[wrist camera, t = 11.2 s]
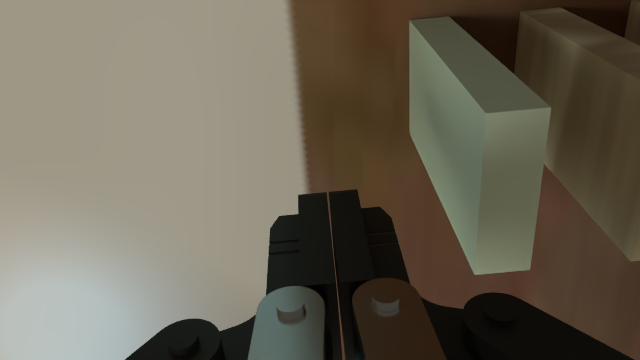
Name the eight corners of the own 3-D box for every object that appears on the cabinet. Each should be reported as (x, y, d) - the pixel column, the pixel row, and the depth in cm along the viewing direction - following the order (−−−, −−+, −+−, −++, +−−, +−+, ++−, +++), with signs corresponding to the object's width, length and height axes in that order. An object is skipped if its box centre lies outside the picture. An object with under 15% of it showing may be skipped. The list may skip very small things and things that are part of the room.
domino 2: (559, 7, 22) (734, 91, 13) (545, 121, 25) (685, 256, 16) (520, 10, 22) (669, 97, 13) (509, 124, 25) (630, 261, 16)
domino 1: (448, 16, 22) (551, 107, 13) (445, 129, 25) (529, 270, 16) (409, 20, 22) (486, 113, 13) (409, 133, 25) (474, 274, 16)
